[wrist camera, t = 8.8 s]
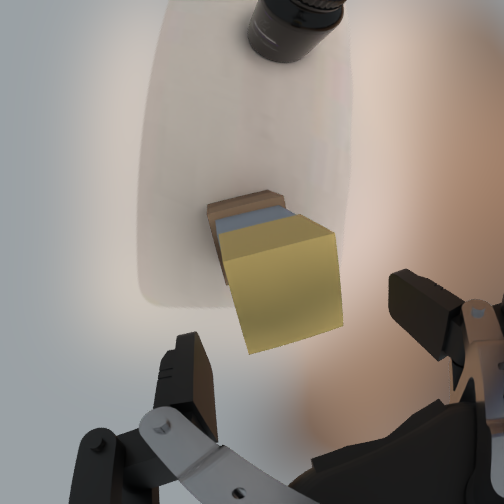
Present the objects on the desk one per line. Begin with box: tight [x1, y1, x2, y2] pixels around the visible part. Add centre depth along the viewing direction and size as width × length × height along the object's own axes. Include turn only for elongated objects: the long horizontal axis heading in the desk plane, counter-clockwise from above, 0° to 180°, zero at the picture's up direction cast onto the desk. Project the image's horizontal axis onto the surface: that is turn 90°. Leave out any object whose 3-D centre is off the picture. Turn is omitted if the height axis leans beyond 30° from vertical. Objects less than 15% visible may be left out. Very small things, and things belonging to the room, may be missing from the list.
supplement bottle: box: [248, 0, 346, 62], centre depth 16 cm, size 7×7×12 cm
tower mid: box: [215, 205, 296, 249], centre depth 20 cm, size 5×5×5 cm
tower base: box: [207, 190, 286, 285], centre depth 25 cm, size 6×6×6 cm
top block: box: [219, 214, 343, 355], centre depth 15 cm, size 5×5×5 cm
